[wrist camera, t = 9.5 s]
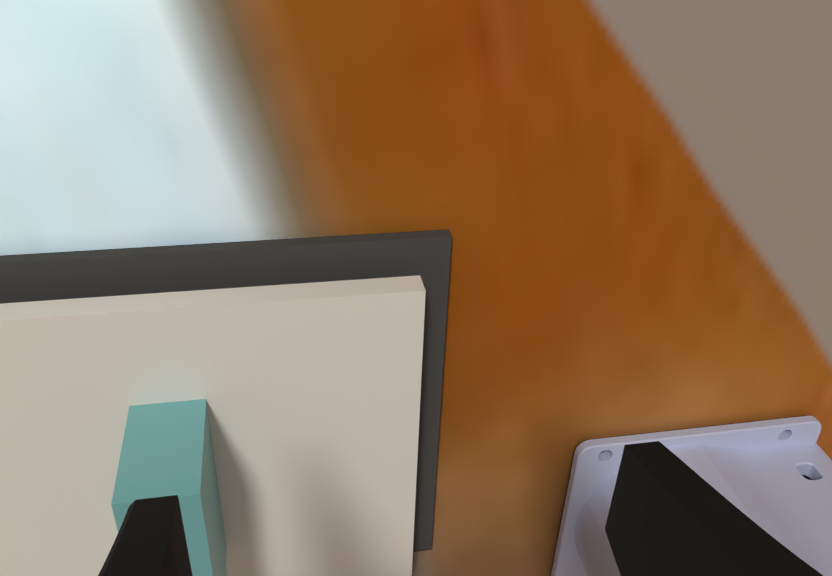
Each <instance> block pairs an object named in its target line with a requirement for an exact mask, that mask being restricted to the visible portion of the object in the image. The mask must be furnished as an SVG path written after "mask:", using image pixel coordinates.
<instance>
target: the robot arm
mask: <svg viewBox="0 0 832 576" xmlns="http://www.w3.org/2000/svg"><path fill="white" fill-rule="evenodd" d="M821 427H822V426H821V424H820V422H819V421H818V420H817V419H816V418H815V417H813V416H801V417H792V418H783V419H774V420H765V421H756V422H747V423H738V424H729V425H720V426H710V427H701V428H692V429H683V430H674V431H665V432H656V433H647V434H638V435H629V436H619V437H610V438H601V439H592V440H587V441H584V442H582V443H580V444H579V446H578V447H577V448H576V450H575V453H574V458H573V463H572V468H571V474H570V479H569V484H568V489H567V494H566V500H565V505H564V510H563V515H562V520H561V526H560V531H559V536H558V541H557V546H556V552H555V557H554V562H553V567H552V572H551V576H832V460H831V459H830V458H829V457H828V456H827V455H826V453H825V452H824V451H823V450H822V449H821V448H820V447H819V446H818V444H817V443H816V441H817V439H818V436H819V434H820V431H821ZM605 450H606V451H605ZM602 451H604V452H603V453H601V452H602ZM98 576H192V570H191V565H190V559H189V554H188V548H187V543H186V537H185V532H184V526H183V520H182V515H181V509H180V504H179V498H178V495H173V496H164V497H155V498H146V499H137V500H135V501H134V502H133V503H132V504H131V505H130V506H129V508H128V510H127V513H126V515H125V518H124V520H123V523H122V525H121V528H120V530H119V532H118V534H117V537H116V539H115V541H114V543H113V546H112V548H111V550H110V552H109V554H108V556H107V558H106V560H105V562H104V565H103V567H102V569H101V571H100V573H99V575H98Z"/></svg>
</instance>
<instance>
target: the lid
mask: <svg viewBox="0 0 832 576" xmlns="http://www.w3.org/2000/svg"><path fill="white" fill-rule="evenodd" d="M425 295H426V290H425V288H424V285H423V282H422V279H421V277H420V275H418V276H403V277H388V278H373V279H358V280H343V281H329V282H314V283H299V284H284V285H269V286H254V287H239V288H225V289H210V290H195V291H180V292H165V293H150V294H135V295H121V296H106V297H91V298H76V299H61V300H46V301H31V302H17V303H2V304H0V576H98V575H99V573H100V571H101V569H102V567H103V565H104V562H105V560H106V558H107V556H108V554H109V552H110V550H111V548H112V546H113V543H114V541H115V539H116V537H117V534H118V532H119V530H120V528H121V525H122V523H123V520H124V518H125V515H126V513H127V510H128V508H129V506H130V505H131V504H132V503H133V502H134V501H135V500H137V499H146V498H155V497H164V496H173V495H178V498H179V504H180V509H181V515H182V520H183V526H184V532H185V537H186V543H187V548H188V554H189V559H190V565H191V570H192V576H412V560H413V539H414V519H415V499H416V478H417V458H418V437H419V417H420V397H421V376H422V356H423V336H424V315H425Z"/></svg>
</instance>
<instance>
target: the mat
mask: <svg viewBox="0 0 832 576" xmlns="http://www.w3.org/2000/svg"><path fill="white" fill-rule="evenodd" d="M451 244H452V235H451V233H450V231H449V230H433V231H416V232H399V233H382V234H365V235H348V236H331V237H314V238H296V239H279V240H262V241H245V242H228V243H211V244H194V245H176V246H159V247H142V248H125V249H108V250H91V251H74V252H57V253H39V254H22V255H5V256H0V304H2V303H17V302H31V301H46V300H61V299H76V298H91V297H106V296H121V295H135V294H150V293H165V292H180V291H195V290H210V289H225V288H239V287H254V286H269V285H284V284H299V283H314V282H329V281H343V280H358V279H373V278H388V277H403V276H418V275H420V277H421V279H422V282H423V285H424V288H425V290H426V295H425V315H424V336H423V356H422V376H421V397H420V417H419V437H418V458H417V478H416V499H415V519H414V539H413V552H417V551H424V550H431V547H432V532H433V517H434V502H435V487H436V471H437V456H438V441H439V426H440V411H441V396H442V380H443V365H444V350H445V335H446V320H447V305H448V289H449V274H450V259H451Z"/></svg>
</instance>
